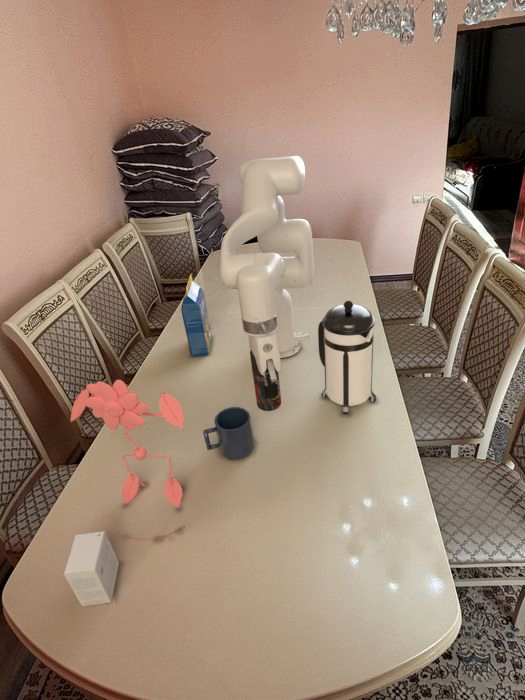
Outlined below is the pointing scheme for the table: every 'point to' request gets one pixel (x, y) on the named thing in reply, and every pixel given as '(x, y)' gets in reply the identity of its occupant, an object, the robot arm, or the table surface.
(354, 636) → the table surface
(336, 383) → the coffee press
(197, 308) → the blue food package
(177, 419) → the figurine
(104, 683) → the table surface
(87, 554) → the small box
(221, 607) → the table surface
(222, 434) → the mug
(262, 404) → the deodorant
